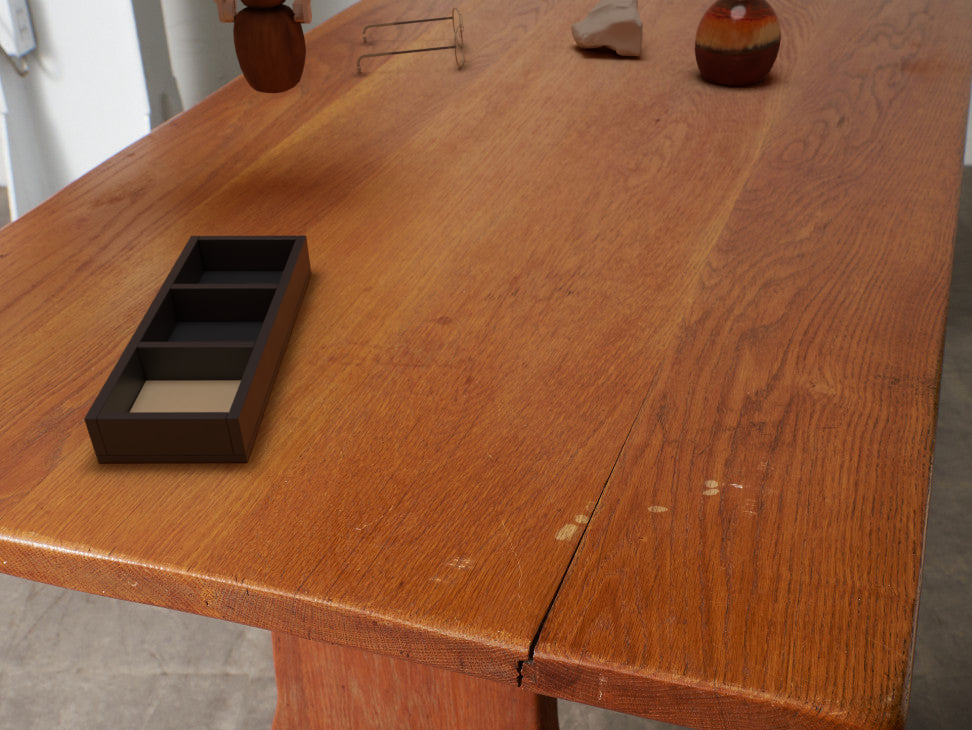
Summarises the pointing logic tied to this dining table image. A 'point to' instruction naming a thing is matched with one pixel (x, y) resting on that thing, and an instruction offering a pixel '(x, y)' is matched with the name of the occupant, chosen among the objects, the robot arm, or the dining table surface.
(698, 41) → the vase
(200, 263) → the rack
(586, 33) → the decorative stone
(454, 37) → the eyeglasses
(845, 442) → the dining table surface
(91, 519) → the dining table surface
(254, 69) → the wooden figurine
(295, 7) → the robot arm
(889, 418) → the dining table surface
